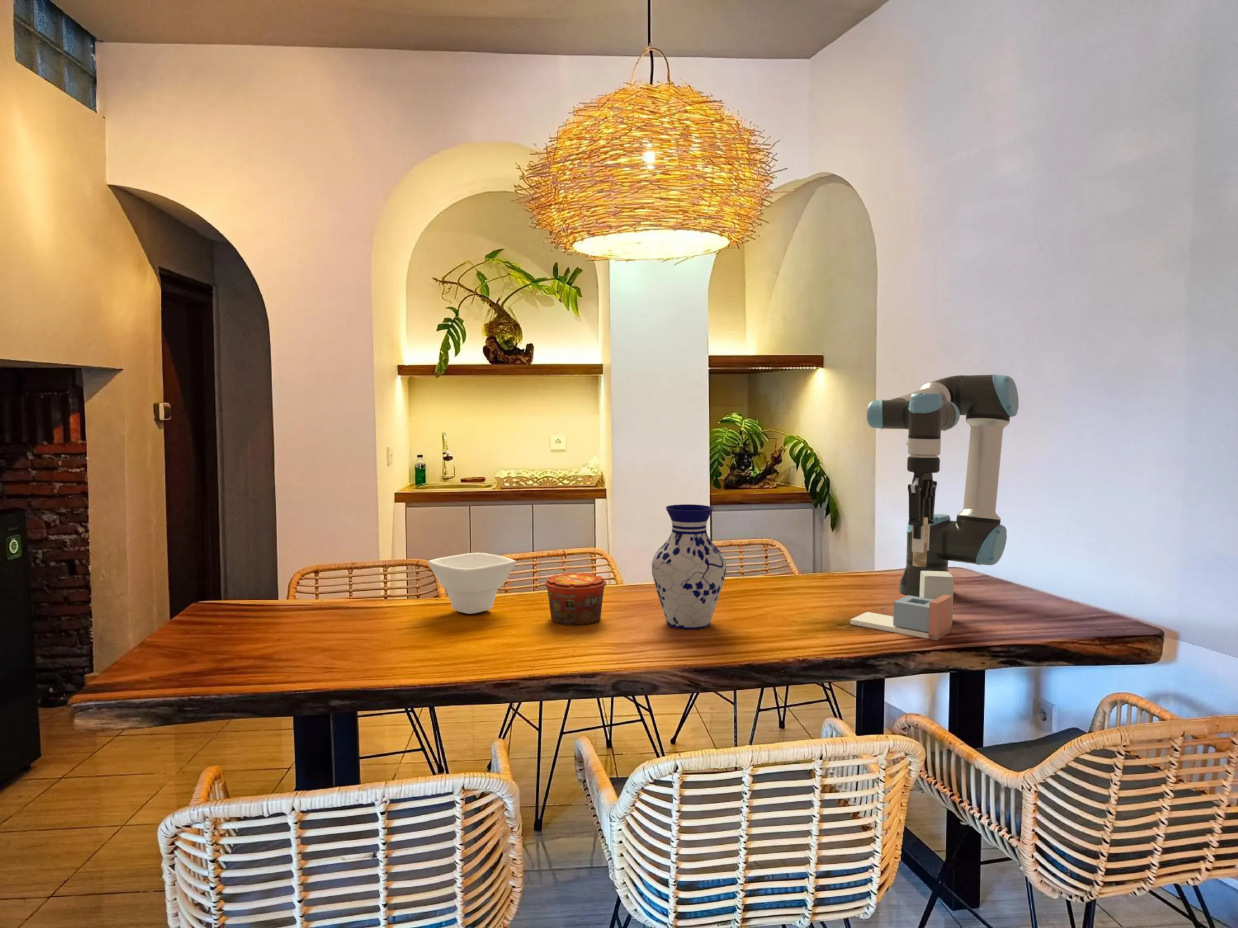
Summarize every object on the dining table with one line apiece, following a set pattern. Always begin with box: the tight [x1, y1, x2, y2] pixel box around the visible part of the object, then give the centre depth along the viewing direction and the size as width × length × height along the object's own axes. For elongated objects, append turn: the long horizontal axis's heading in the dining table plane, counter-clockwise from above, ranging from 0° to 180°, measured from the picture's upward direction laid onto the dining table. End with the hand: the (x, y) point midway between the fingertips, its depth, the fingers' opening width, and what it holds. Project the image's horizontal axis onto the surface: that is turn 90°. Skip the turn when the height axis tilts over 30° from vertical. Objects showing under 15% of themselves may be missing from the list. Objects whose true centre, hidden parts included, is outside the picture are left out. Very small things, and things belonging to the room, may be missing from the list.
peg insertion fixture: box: [850, 595, 953, 641], centre depth 216 cm, size 10×22×9 cm, turn 50°
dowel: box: [913, 517, 928, 567], centre depth 212 cm, size 3×3×12 cm
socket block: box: [893, 594, 934, 632], centre depth 213 cm, size 9×9×6 cm
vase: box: [651, 503, 727, 630], centre depth 218 cm, size 19×19×30 cm
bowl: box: [427, 552, 517, 615], centre depth 230 cm, size 19×19×14 cm
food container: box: [544, 572, 607, 626], centre depth 223 cm, size 16×16×11 cm
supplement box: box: [920, 571, 955, 626], centre depth 223 cm, size 7×7×13 cm
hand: (920, 550), depth 212 cm, fingers closed on dowel, 3 cm apart
